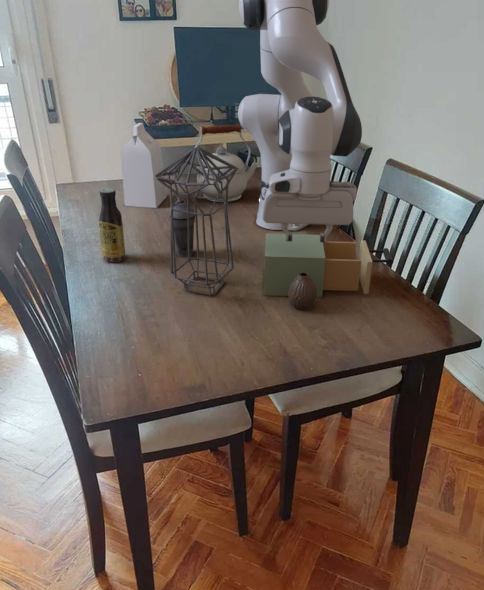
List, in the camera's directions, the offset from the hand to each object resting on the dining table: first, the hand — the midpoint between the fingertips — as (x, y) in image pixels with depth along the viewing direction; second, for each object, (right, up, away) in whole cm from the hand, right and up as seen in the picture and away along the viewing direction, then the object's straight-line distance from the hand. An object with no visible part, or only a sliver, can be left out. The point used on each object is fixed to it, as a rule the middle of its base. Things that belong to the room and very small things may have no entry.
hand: (305, 241), depth 126 cm
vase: (0, -14, +10) cm, 17 cm away
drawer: (+13, -7, +19) cm, 24 cm away
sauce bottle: (-52, +1, +30) cm, 60 cm away
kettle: (-24, +32, +78) cm, 88 cm away
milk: (-53, +28, +71) cm, 93 cm away
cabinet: (-2, -7, +20) cm, 21 cm away
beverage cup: (-33, +3, +34) cm, 48 cm away
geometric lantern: (-26, -9, +17) cm, 32 cm away
